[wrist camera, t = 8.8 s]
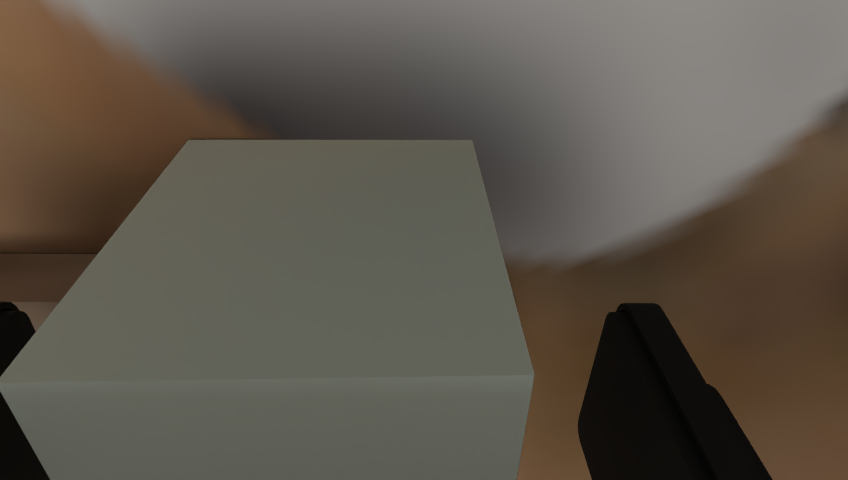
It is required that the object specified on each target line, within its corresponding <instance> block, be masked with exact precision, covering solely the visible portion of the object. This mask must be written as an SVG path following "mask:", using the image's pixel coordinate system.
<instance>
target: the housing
mask: <svg viewBox="0 0 848 480" xmlns="http://www.w3.org/2000/svg"><path fill="white" fill-rule="evenodd" d="M533 381H534V371H533V368H532V364H531V360H530V356H529V352H528V349H527V345H526V341H525V337H524V334H523V330H522V326H521V322H520V318H519V315H518V311H517V307H516V303H515V300H514V296H513V292H512V288H511V284H510V281H509V277H508V273H507V269H506V266H505V262H504V258H503V254H502V250H501V247H500V243H499V239H498V235H497V232H496V228H495V224H494V220H493V217H492V213H491V209H490V205H489V201H488V198H487V194H486V190H485V186H484V182H483V179H482V175H481V171H480V168H479V164H478V160H477V156H476V153H475V149H474V145H473V141H472V140H188V141H187V142H186V143H185V145H184V146H183V147H182V148H181V150H180V151H179V152H178V153H177V155H176V156H175V157H174V158H173V160H172V161H171V162H170V164H169V165H168V166H167V167H166V169H165V170H164V171H163V172H162V174H161V175H160V176H159V177H158V179H157V180H156V181H155V182H154V184H153V185H152V186H151V187H150V189H149V190H148V191H147V193H146V194H145V195H144V196H143V198H142V199H141V200H140V201H139V203H138V204H137V205H136V206H135V208H134V209H133V210H132V211H131V213H130V214H129V215H128V216H127V218H126V219H125V220H124V222H123V223H122V224H121V225H120V227H119V228H118V229H117V230H116V232H115V233H114V234H113V235H112V237H111V238H110V239H109V240H108V242H107V243H106V244H105V245H104V247H103V248H102V249H101V251H100V252H99V253H98V254H97V256H96V257H95V258H94V259H93V261H92V262H91V263H90V264H89V266H88V267H87V268H86V269H85V271H84V272H83V273H82V274H81V276H80V277H79V278H78V280H77V281H76V282H75V283H74V285H73V286H72V287H71V288H70V290H69V291H68V292H67V293H66V295H65V296H64V297H63V298H62V300H61V301H60V302H59V303H58V305H57V306H56V307H55V309H54V310H53V311H52V312H51V314H50V315H49V316H48V317H47V319H46V320H45V321H44V322H43V324H42V325H41V326H40V327H39V329H38V330H37V331H36V333H35V334H34V335H33V336H32V338H31V339H30V340H29V341H28V343H27V344H26V345H25V346H24V348H23V349H22V350H21V351H20V353H19V354H18V355H17V356H16V358H15V359H14V360H13V362H12V363H11V364H10V365H9V367H8V368H7V369H6V370H5V372H4V373H3V374H2V375H1V377H0V392H1V393H2V395H3V397H4V399H5V401H6V402H7V404H8V406H9V408H10V409H11V411H12V413H13V415H14V416H15V418H16V420H17V422H18V424H19V425H20V427H21V429H22V431H23V432H24V434H25V436H26V438H27V439H28V441H29V443H30V445H31V447H32V448H33V450H34V452H35V454H36V455H37V457H38V459H39V461H40V462H41V464H42V466H43V468H44V470H45V471H46V473H47V475H48V477H49V478H50V480H517V474H518V469H519V463H520V457H521V451H522V445H523V439H524V433H525V428H526V422H527V416H528V410H529V404H530V398H531V392H532V387H533Z"/></svg>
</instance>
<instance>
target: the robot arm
mask: <svg viewBox="0 0 848 480" xmlns="http://www.w3.org/2000/svg"><path fill="white" fill-rule="evenodd" d="M35 333H36V331H35V329H34V327H33V325H32V323H31V320H30V318H29V317H28V315H27V314H26V313H25V312H23V311H19V309H18V308H17V306H16V305H14V304H13V303H12V302H6V301H0V377H1V375H2V374H3V373H4V372H5V370H6V369H7V368H8V367H9V365H10V364H11V363H12V362H13V360H14V359H15V358H16V356H17V355H18V354H19V353H20V351H21V350H22V349H23V348H24V346H25V345H26V344H27V343H28V341H29V340H30V339H31V338H32V336H33V335H34V334H35ZM578 433H579V439H580V443H581V446H582V449H583V452H584V455H585V459H586V462H587V465H588V468H589V471H590V475H591V478H592V480H772V478H771V476H770V475H769V473H768V472H767V470H766V468H765V467H764V465H763V463H762V462H761V460H760V458H759V457H758V455H757V454H756V452H755V450H754V449H753V447H752V445H751V444H750V442H749V440H748V439H747V437H746V436H745V434H744V432H743V431H742V429H741V427H740V426H739V424H738V422H737V421H736V419H735V418H734V416H733V414H732V413H731V411H730V409H729V408H728V406H727V404H726V403H725V401H724V399H723V398H722V396H721V395H720V394H719V393H718V391H717V390H716V389H715V388H714V387H712V386H711V385H709V384H706V382H705V380H704V379H703V377H702V375H701V374H700V372H699V370H698V368H697V367H696V365H695V363H694V362H693V360H692V358H691V357H690V355H689V353H688V352H687V350H686V348H685V347H684V345H683V343H682V342H681V340H680V338H679V337H678V335H677V333H676V332H675V330H674V328H673V327H672V325H671V323H670V322H669V320H668V318H667V316H666V315H665V313H664V311H663V310H662V308H661V307H660V306H659V305H657V304H653V303H623V304H620V305H619V307H618V308H617V311H616V312H610V313H608V314H607V316H606V319H605V323H604V327H603V330H602V334H601V338H600V341H599V345H598V349H597V352H596V356H595V360H594V364H593V367H592V371H591V375H590V378H589V382H588V386H587V390H586V393H585V397H584V401H583V404H582V408H581V412H580V416H579V420H578ZM0 480H50V478H49V477H48V475H47V473H46V471H45V470H44V468H43V466H42V464H41V462H40V461H39V459H38V457H37V455H36V454H35V452H34V450H33V448H32V447H31V445H30V443H29V441H28V439H27V438H26V436H25V434H24V432H23V431H22V429H21V427H20V425H19V424H18V422H17V420H16V418H15V416H14V415H13V413H12V411H11V409H10V408H9V406H8V404H7V402H6V401H5V399H4V397H3V395H2V393H1V392H0Z"/></svg>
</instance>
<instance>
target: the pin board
mask: <svg viewBox="0 0 848 480" xmlns="http://www.w3.org/2000/svg"><path fill="white" fill-rule="evenodd" d="M96 256H97V254H0V301H6V302H12V303H13V304H14V305H16V306H17V308H18V309H19V311H23V312H25V313H26V314H27V315H28V317H29V318H30V320H31V323H32V325H33V327H34V329H35V331H37V330H38V329H39V327H40V326H41V325H42V324H43V322H44V321H45V320H46V319H47V317H48V316H49V315H50V314H51V312H52V311H53V310H54V309H55V307H56V306H57V305H58V303H59V302H60V301H61V300H62V298H63V297H64V296H65V295H66V293H67V292H68V291H69V290H70V288H71V287H72V286H73V285H74V283H75V282H76V281H77V280H78V278H79V277H80V276H81V274H82V273H83V272H84V271H85V269H86V268H87V267H88V266H89V264H90V263H91V262H92V261H93V259H94V258H95V257H96Z"/></svg>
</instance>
